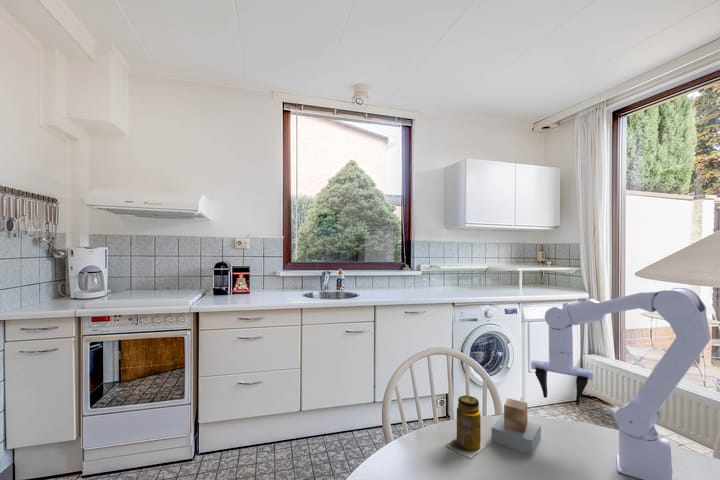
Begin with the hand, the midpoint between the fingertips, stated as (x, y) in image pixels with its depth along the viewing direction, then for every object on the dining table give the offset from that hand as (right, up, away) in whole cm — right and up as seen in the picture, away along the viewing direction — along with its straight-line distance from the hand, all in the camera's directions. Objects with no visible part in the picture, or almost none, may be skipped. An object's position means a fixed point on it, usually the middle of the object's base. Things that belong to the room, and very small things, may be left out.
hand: (561, 400), depth 93 cm
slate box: (-13, -11, -1) cm, 17 cm away
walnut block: (-13, -7, -1) cm, 15 cm away
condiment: (-27, -10, -4) cm, 30 cm away
